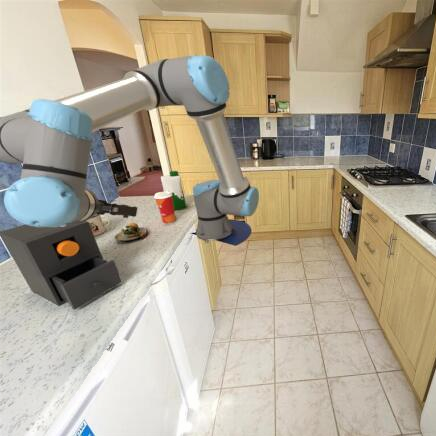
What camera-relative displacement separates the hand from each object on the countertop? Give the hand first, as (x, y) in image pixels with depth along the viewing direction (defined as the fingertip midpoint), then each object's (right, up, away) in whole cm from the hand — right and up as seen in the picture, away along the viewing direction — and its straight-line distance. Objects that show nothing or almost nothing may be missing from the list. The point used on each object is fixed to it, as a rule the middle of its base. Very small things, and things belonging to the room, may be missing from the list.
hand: (95, 205), depth 66 cm
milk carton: (-10, +2, +69) cm, 69 cm away
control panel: (-14, -15, +5) cm, 21 cm away
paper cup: (-6, -5, +52) cm, 53 cm away
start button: (-7, -14, 0) cm, 15 cm away
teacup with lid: (-33, -10, +42) cm, 55 cm away
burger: (-14, -12, +37) cm, 41 cm away
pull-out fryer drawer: (-6, -24, +5) cm, 26 cm away
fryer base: (-14, -24, +9) cm, 29 cm away
